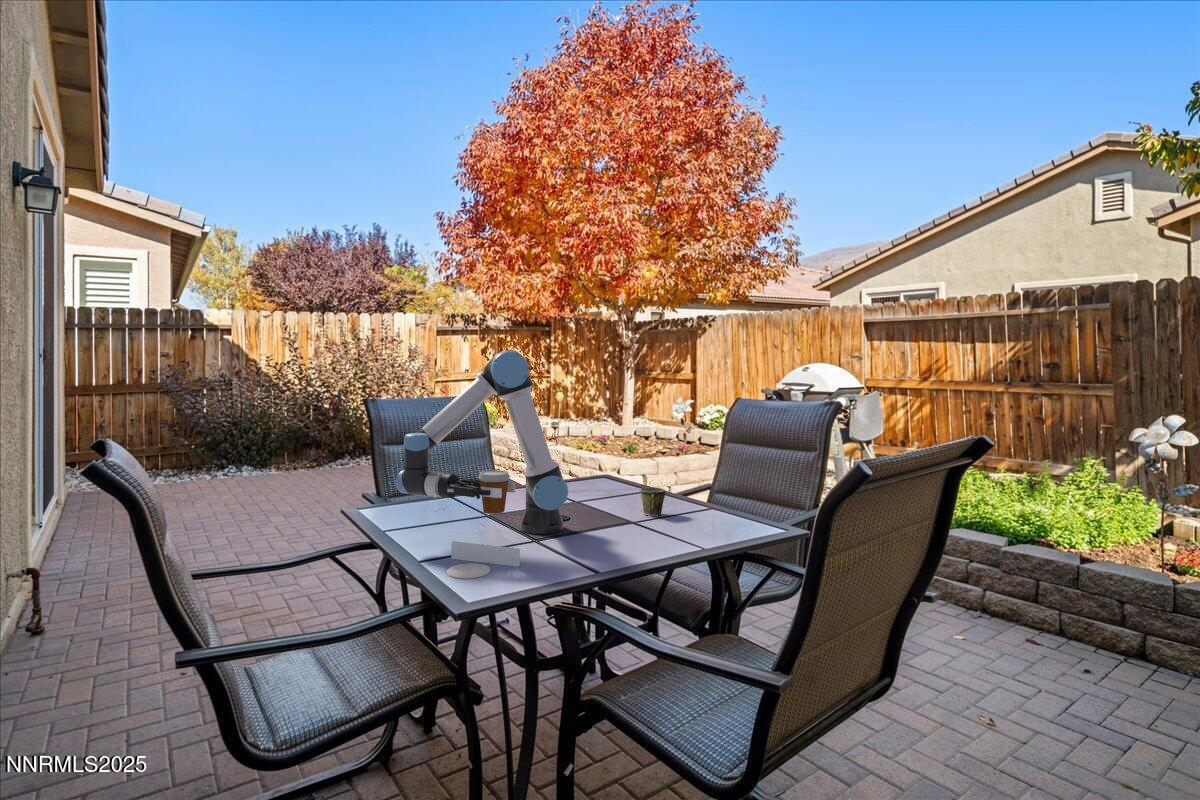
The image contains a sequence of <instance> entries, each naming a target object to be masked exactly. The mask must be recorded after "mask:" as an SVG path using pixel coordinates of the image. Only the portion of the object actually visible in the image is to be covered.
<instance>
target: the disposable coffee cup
mask: <svg viewBox="0 0 1200 800" xmlns="http://www.w3.org/2000/svg"><path fill="white" fill-rule="evenodd" d="M477 478H478V480H480V487H489V488H501V489H502V498H494V497H483V496H481V501H482V510H483V513H484V514H488V515H496V514H497V515H498V514H503V513H504V512H505V510H506V501H507V494H508V492H507V487H508V483H509V480H510V478H511V476H510V474H509V472H508V471H506V470H499V469H491V470H483V471H480V472H479V475H478V477H477Z"/></svg>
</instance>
